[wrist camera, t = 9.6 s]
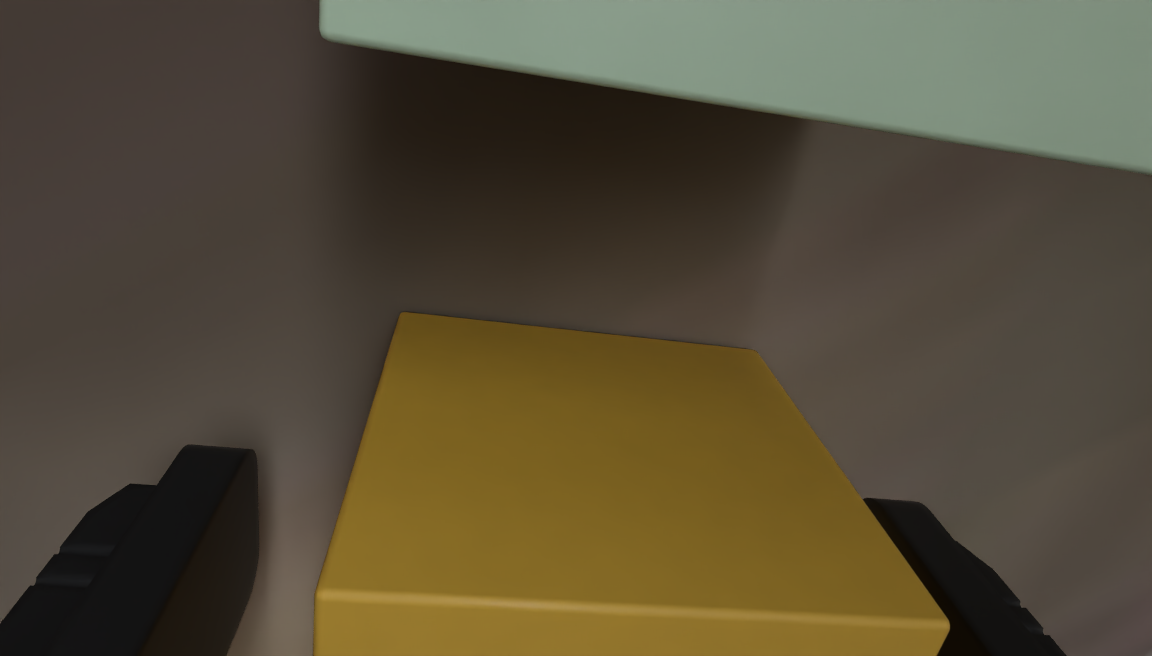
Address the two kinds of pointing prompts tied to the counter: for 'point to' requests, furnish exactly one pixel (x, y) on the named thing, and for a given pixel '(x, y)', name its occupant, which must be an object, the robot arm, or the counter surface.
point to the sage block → (822, 60)
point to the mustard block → (602, 509)
